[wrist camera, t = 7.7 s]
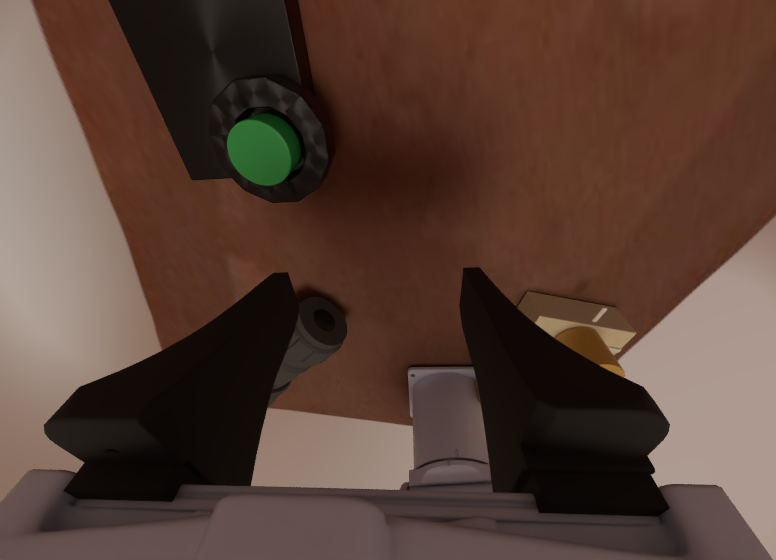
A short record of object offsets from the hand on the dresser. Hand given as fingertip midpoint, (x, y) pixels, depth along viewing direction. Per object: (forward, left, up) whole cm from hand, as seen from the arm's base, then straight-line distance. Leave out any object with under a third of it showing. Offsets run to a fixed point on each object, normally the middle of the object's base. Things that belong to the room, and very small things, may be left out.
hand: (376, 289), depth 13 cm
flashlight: (-15, +11, -10) cm, 21 cm away
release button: (+4, +6, -7) cm, 10 cm away
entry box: (+8, +8, -10) cm, 15 cm away
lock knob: (-12, -14, -7) cm, 20 cm away
